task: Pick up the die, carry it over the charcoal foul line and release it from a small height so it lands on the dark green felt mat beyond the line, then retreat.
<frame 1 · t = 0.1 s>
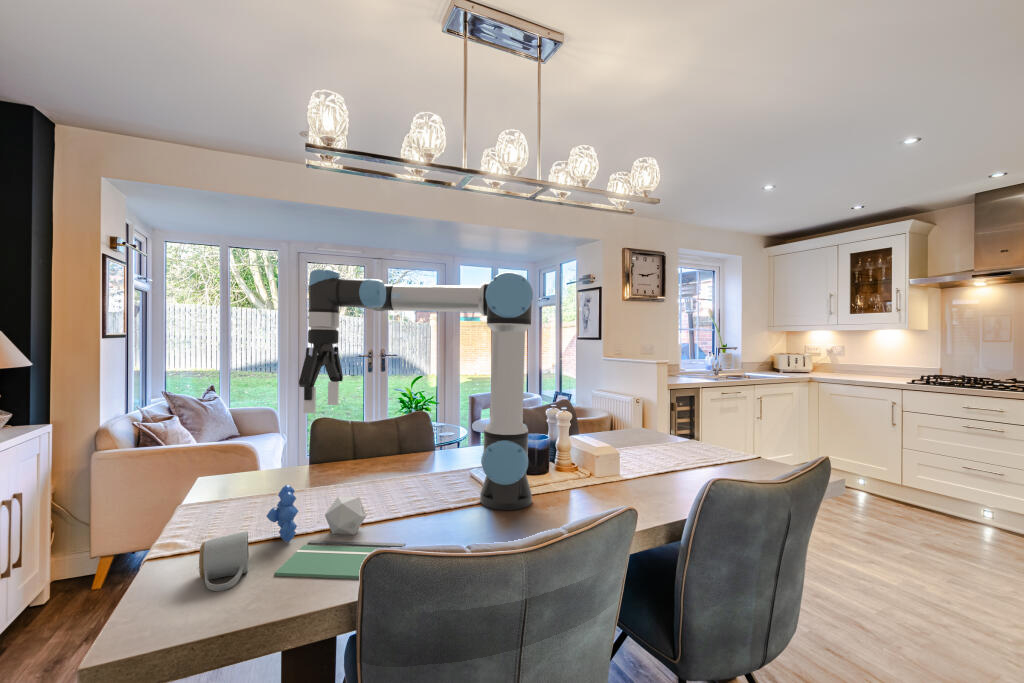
hand: (321, 408, 122), 28 cm above the table, fingers open, 13 cm apart
grapes: (282, 539, 107), on the table
die: (345, 532, 111), on the table
ceramic mug: (226, 578, 90), on the table
felt mat: (341, 562, 96), on the table
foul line: (356, 544, 105), on the table
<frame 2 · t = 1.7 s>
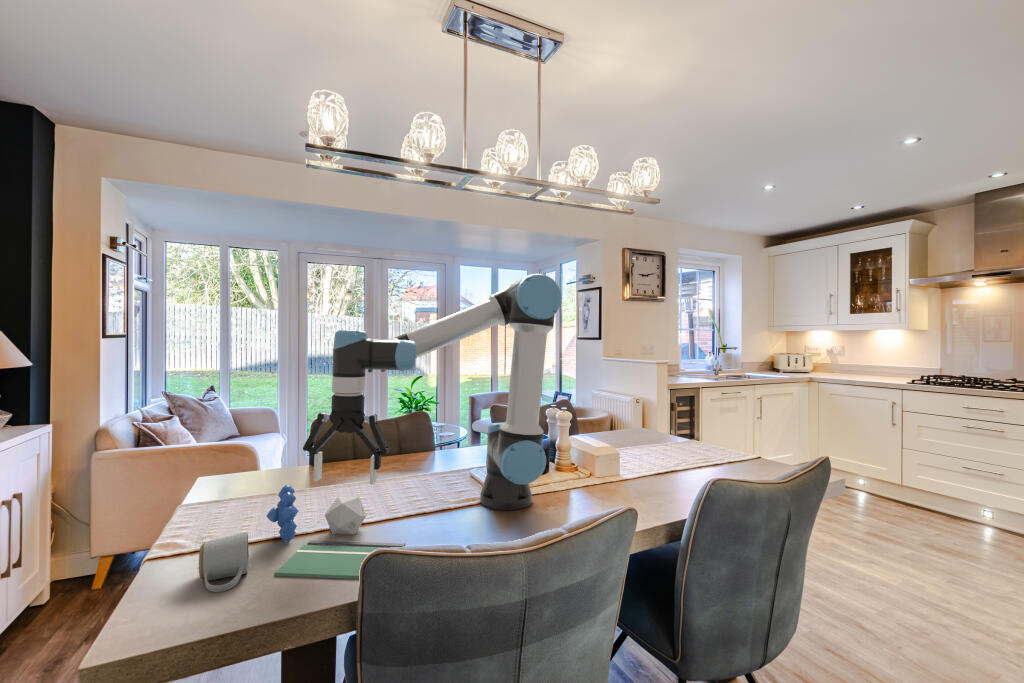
hand: (345, 481, 111), 12 cm above the table, fingers open, 13 cm apart
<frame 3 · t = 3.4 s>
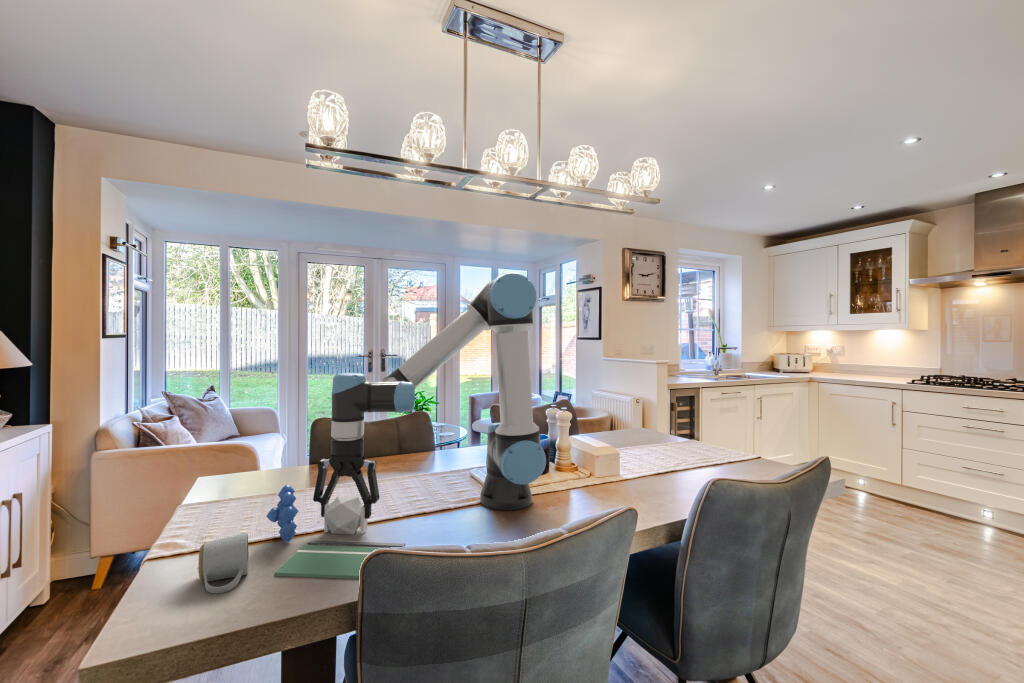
hand: (345, 530, 111), 0 cm above the table, fingers closed on die, 8 cm apart
die: (345, 532, 111), on the table, touching gripper
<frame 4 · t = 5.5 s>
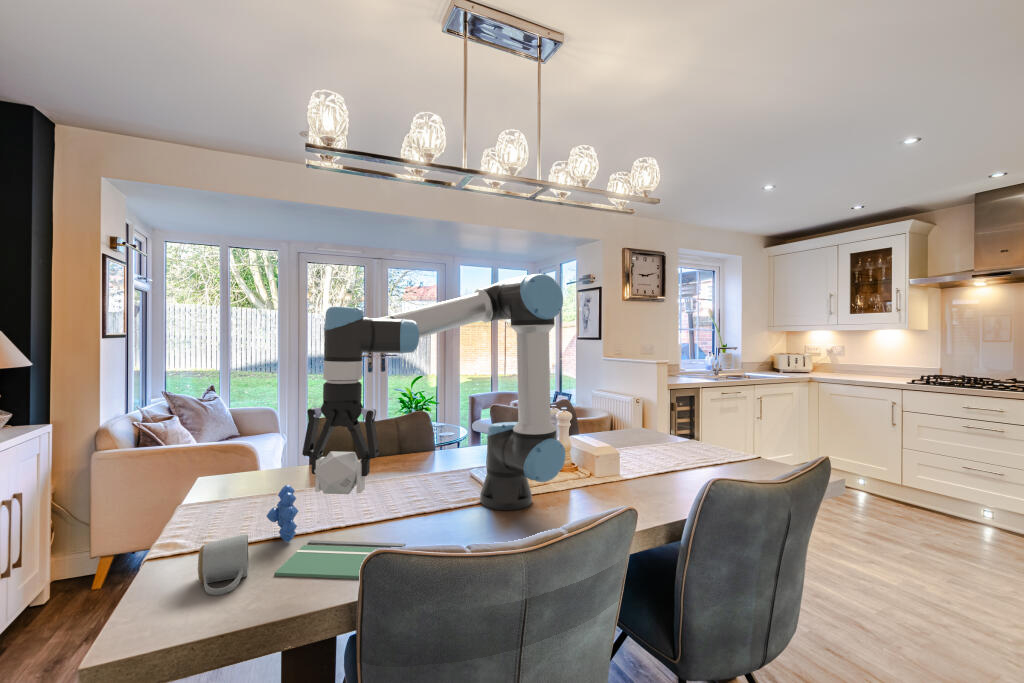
hand: (340, 490, 96), 15 cm above the table, fingers closed on die, 8 cm apart
die: (339, 492, 96), point 15 cm above the table, touching gripper
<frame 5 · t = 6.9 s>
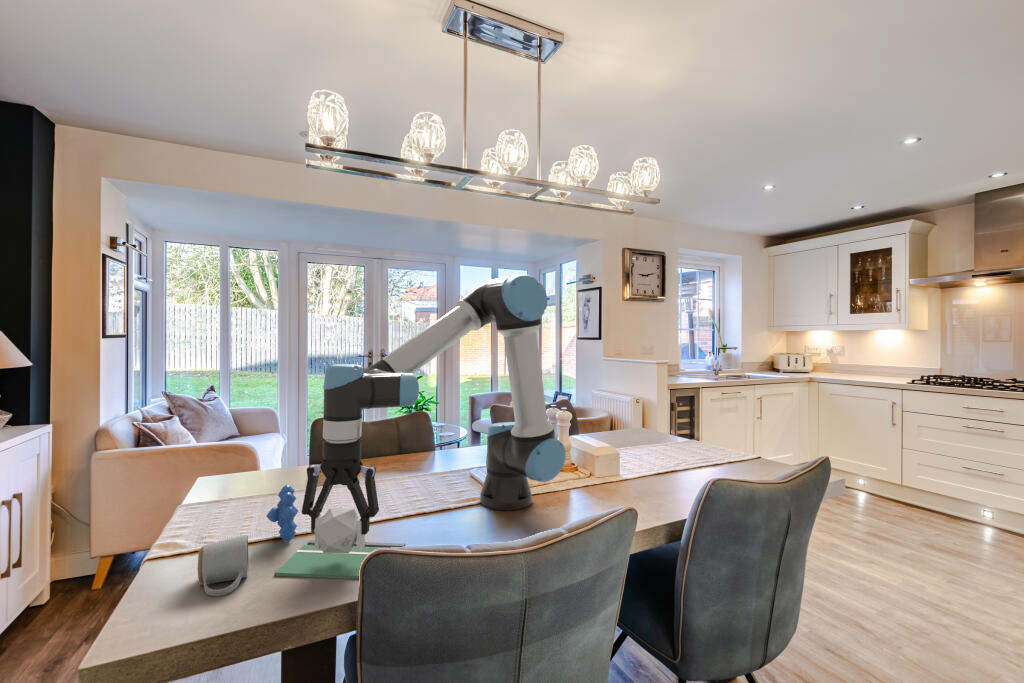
hand: (339, 548, 95), 4 cm above the table, fingers closed on die, 8 cm apart
die: (338, 550, 95), point 3 cm above the table, touching gripper
when the fingers open (3 cm above the table, at t = 7.7 s): die drops 2 cm, resting on felt mat.
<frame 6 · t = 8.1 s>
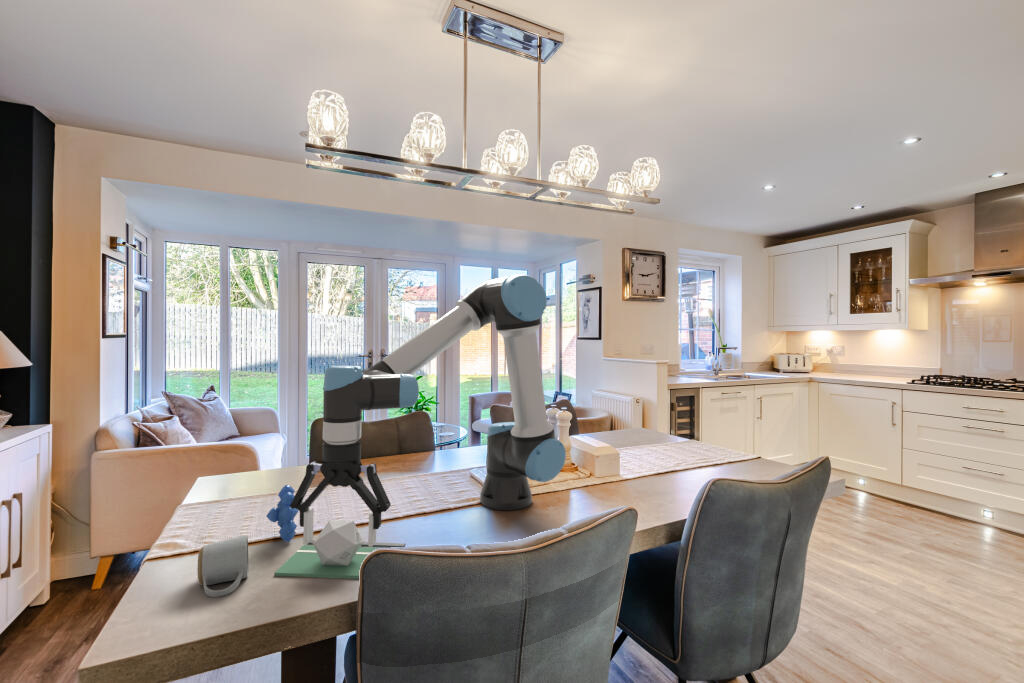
hand: (340, 542, 95), 5 cm above the table, fingers open, 13 cm apart
die: (338, 562, 95), resting on felt mat
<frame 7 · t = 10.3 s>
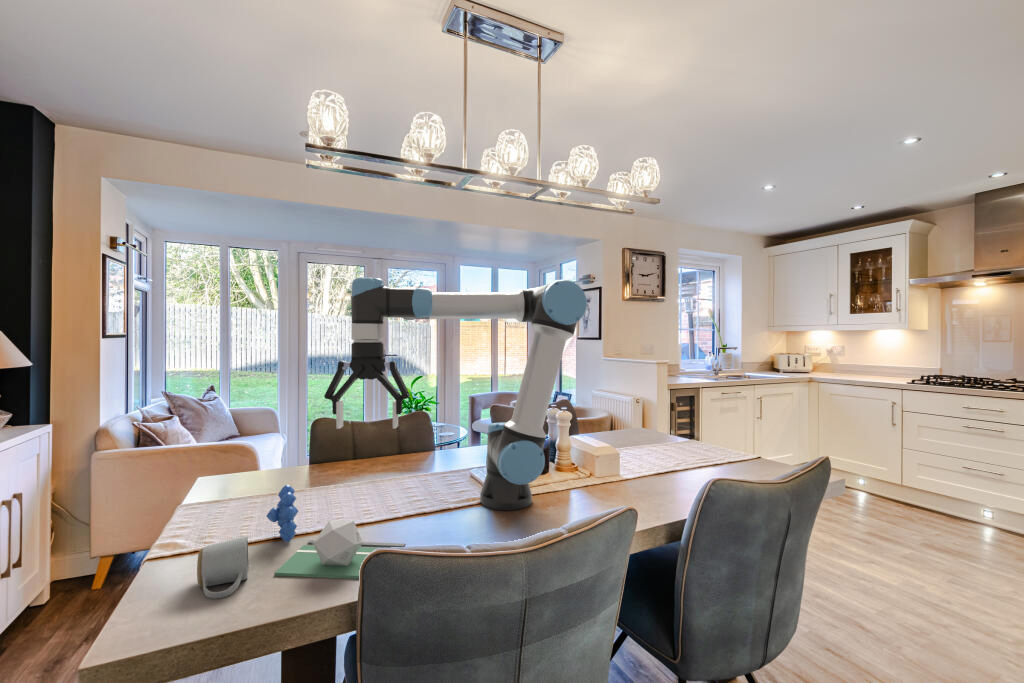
hand: (367, 427, 113), 25 cm above the table, fingers open, 13 cm apart
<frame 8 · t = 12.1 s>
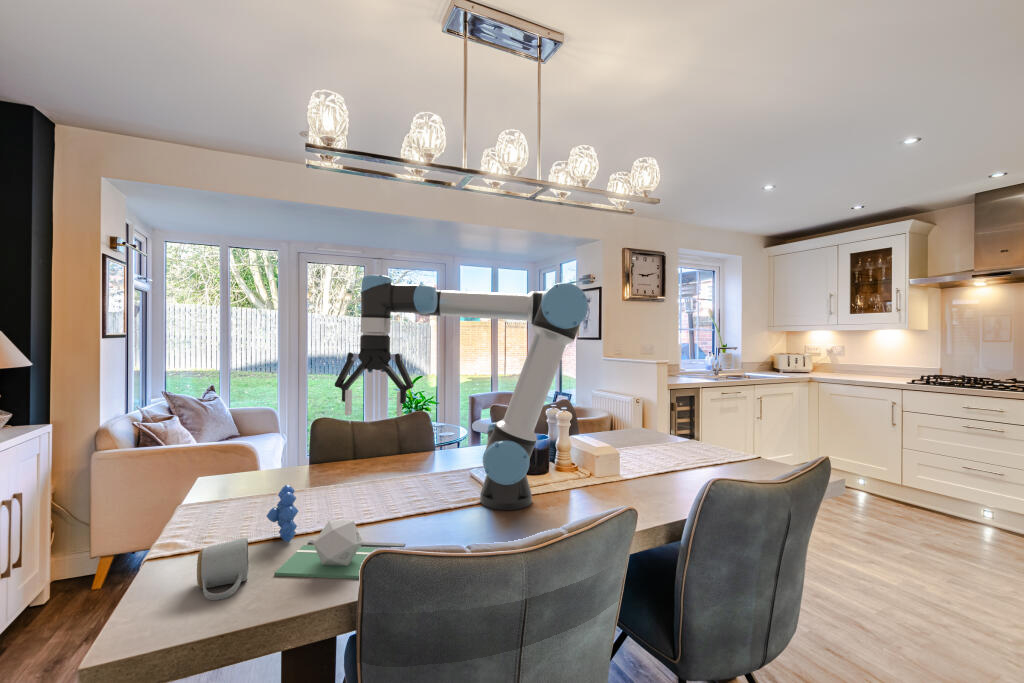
hand: (373, 415, 121), 27 cm above the table, fingers open, 13 cm apart
at the end: die inside the target area (1.2 cm from its centre), resting on felt mat; the gripper is holding nothing; die moved 16.5 cm from its start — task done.
